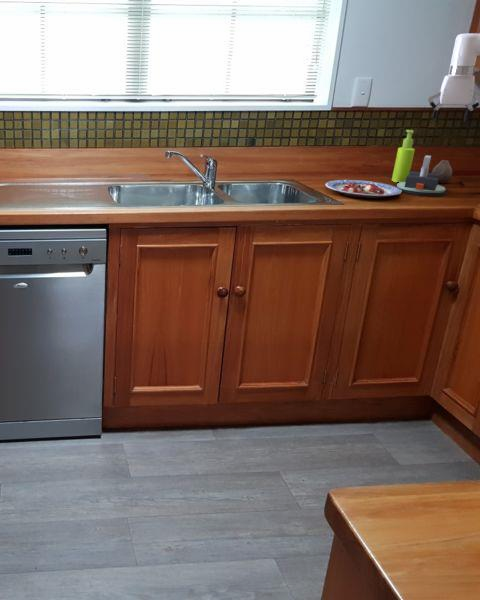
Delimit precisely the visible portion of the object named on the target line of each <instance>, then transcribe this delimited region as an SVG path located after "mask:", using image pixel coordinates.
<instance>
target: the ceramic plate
mask: <svg viewBox="0 0 480 600" xmlns="http://www.w3.org/2000/svg"><path fill="white" fill-rule="evenodd" d="M325 186H326V188H328V189H330V190H333V191H335V192H338V193H340V194H342V195H344V196H349V197H355V198H361V199H362V198H364V199H365V198H366V199H379V198H380V199H381V198H385V197H393V196H397V195H400V194H402V193H401V192H402V190H401V189H399V188H397V187H395V186H396V185H395V186H394V185H391V184H387V183H383V182H378V181H376V182H375V181H371V180H370V181H369V180H362V179H361V180H358V179H337V180H336V179H335V180H330V181H328V182H326V183H325Z"/></svg>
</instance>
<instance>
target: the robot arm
mask: <svg viewBox="0 0 480 600" xmlns="http://www.w3.org/2000/svg"><path fill="white" fill-rule="evenodd" d="M451 55H452V56H451V59H450V65H449V70H448V74H447V75H444V77H443V80H442V83H441V87H440V90H439V92H437V93H435V94H433V95H430V96H428V97H427V100H428V103H429V105H430V106H431V108H432V109H433V112H432V118H431V119H432V120H433V122H435V123H436V122H438V119H439V116H440V115H439V114H440V108H441V107H442V106H465V107H466V110H465V113H464V118H463V122H464V123H468V122H469V121H470V120H471V116H472V111H474V110H475V109H476V108H478V107H479V106H480V95H478V94H476V93H475V92H474V90H475V81H476V79H475V78H476V77H475V75H474V74H475V73H479V70H480V67H476V61H477V58H478V56H480V32H479V33H477V32H474V33H473V32H472V33H470V32H468V33H460V34H458V35H457V36H456V38H455V40H454V46H453V51H452V54H451ZM436 98H437V103H435V101H434V100H435V99H436ZM473 98H474V99H476V101H475V102H474V103H473V104H471V103H472V101H473Z"/></svg>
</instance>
